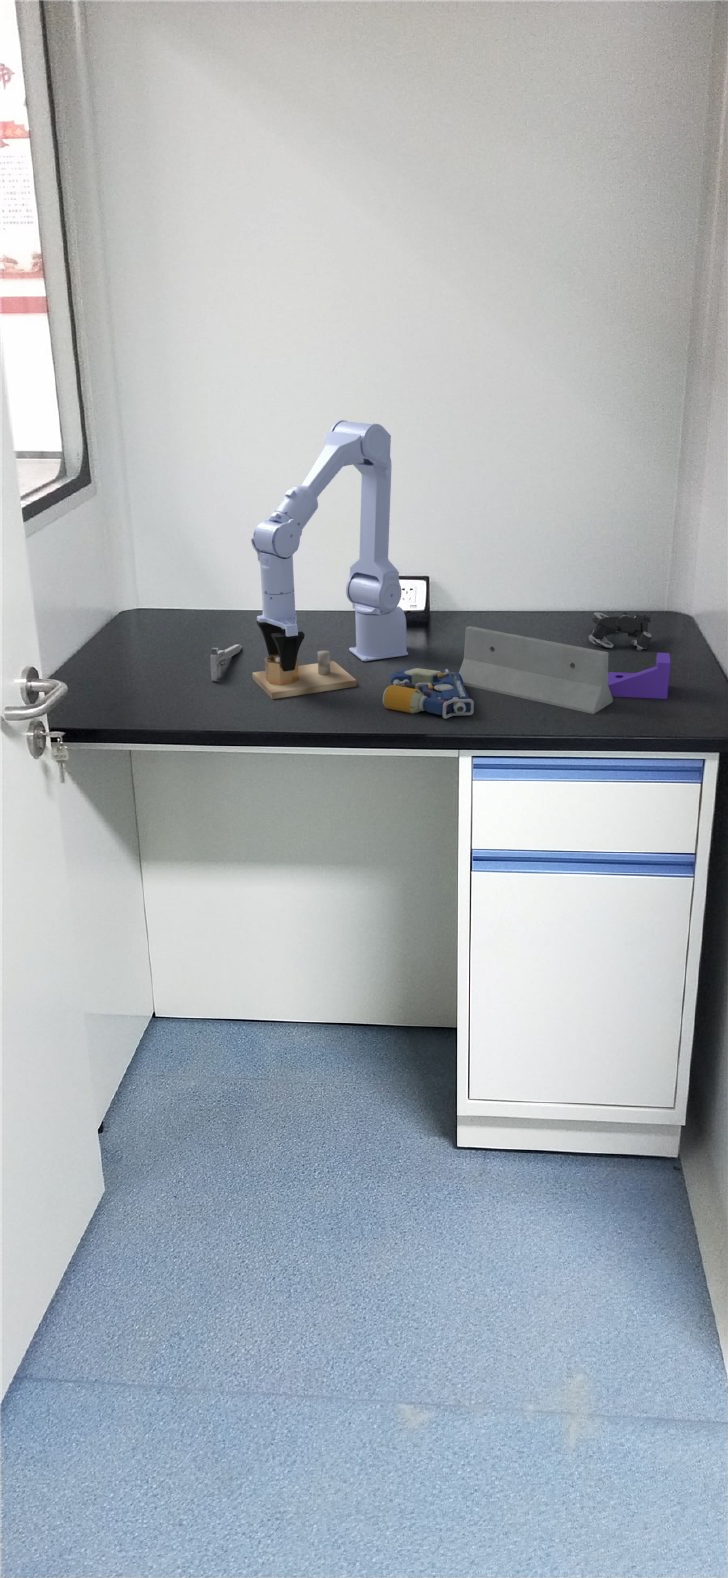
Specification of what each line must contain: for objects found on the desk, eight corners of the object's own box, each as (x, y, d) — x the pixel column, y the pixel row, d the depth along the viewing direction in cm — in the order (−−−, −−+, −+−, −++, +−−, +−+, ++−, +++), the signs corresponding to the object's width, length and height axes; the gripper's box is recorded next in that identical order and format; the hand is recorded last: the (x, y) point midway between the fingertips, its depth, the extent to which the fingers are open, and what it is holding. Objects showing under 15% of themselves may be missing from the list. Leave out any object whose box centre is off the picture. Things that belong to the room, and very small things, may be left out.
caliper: (217, 683, 217) (214, 650, 214) (211, 683, 217) (209, 650, 214) (242, 649, 235) (240, 618, 233) (237, 649, 235) (234, 618, 233)
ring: (292, 672, 217) (291, 651, 215) (301, 681, 212) (300, 660, 210) (263, 676, 215) (261, 655, 213) (271, 686, 210) (270, 665, 209)
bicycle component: (591, 617, 242) (580, 641, 230) (607, 586, 238) (597, 609, 226) (644, 642, 241) (636, 667, 228) (661, 612, 237) (654, 636, 225)
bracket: (665, 687, 210) (669, 650, 207) (666, 700, 204) (670, 663, 201) (597, 684, 212) (599, 647, 209) (596, 697, 206) (598, 660, 203)
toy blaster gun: (385, 724, 196) (474, 722, 197) (385, 700, 194) (475, 698, 195) (377, 685, 215) (459, 684, 216) (377, 663, 214) (460, 661, 214)
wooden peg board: (333, 666, 223) (332, 640, 221) (356, 686, 213) (355, 658, 211) (252, 678, 218) (250, 651, 216) (272, 699, 208) (270, 671, 206)
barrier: (612, 703, 203) (616, 647, 199) (593, 715, 198) (597, 658, 194) (477, 673, 219) (478, 621, 215) (455, 684, 214) (456, 631, 209)
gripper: (244, 583, 212) (249, 655, 217) (268, 603, 199) (272, 679, 205) (282, 578, 214) (285, 650, 220) (307, 598, 202) (311, 673, 207)
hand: (282, 664), depth 212 cm, fingers open, 7 cm apart
